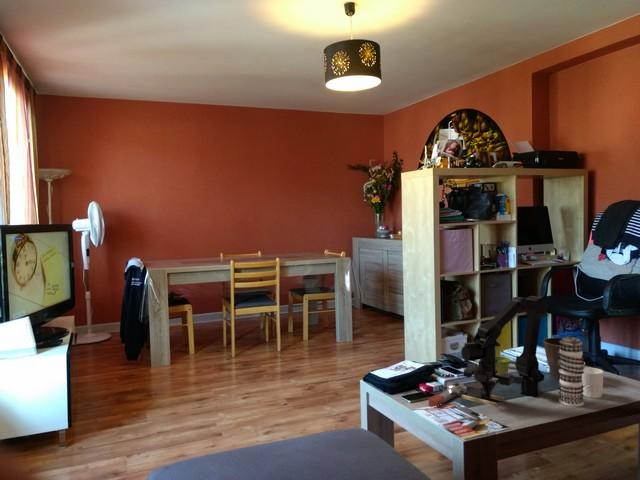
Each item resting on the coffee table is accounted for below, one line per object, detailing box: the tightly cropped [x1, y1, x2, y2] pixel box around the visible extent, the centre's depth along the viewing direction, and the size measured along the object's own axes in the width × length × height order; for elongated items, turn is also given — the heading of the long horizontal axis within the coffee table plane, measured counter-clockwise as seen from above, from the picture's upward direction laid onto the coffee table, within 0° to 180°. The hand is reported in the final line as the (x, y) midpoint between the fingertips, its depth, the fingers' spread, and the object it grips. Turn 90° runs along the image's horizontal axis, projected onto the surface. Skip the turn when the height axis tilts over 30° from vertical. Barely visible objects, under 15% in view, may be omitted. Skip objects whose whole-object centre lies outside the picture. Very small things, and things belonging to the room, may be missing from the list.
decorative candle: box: [558, 336, 585, 408], centre depth 193 cm, size 9×9×25 cm
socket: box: [465, 382, 487, 400], centre depth 201 cm, size 6×5×5 cm
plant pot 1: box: [496, 355, 512, 375], centre depth 224 cm, size 9×9×9 cm
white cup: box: [582, 367, 604, 399], centre depth 201 cm, size 8×8×10 cm
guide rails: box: [460, 394, 505, 407], centre depth 200 cm, size 14×8×1 cm, turn 47°
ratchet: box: [428, 381, 467, 407], centre depth 200 cm, size 14×22×4 cm, turn 137°
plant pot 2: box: [543, 337, 564, 380], centre depth 222 cm, size 15×15×16 cm
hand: (488, 397), depth 198 cm, fingers closed
